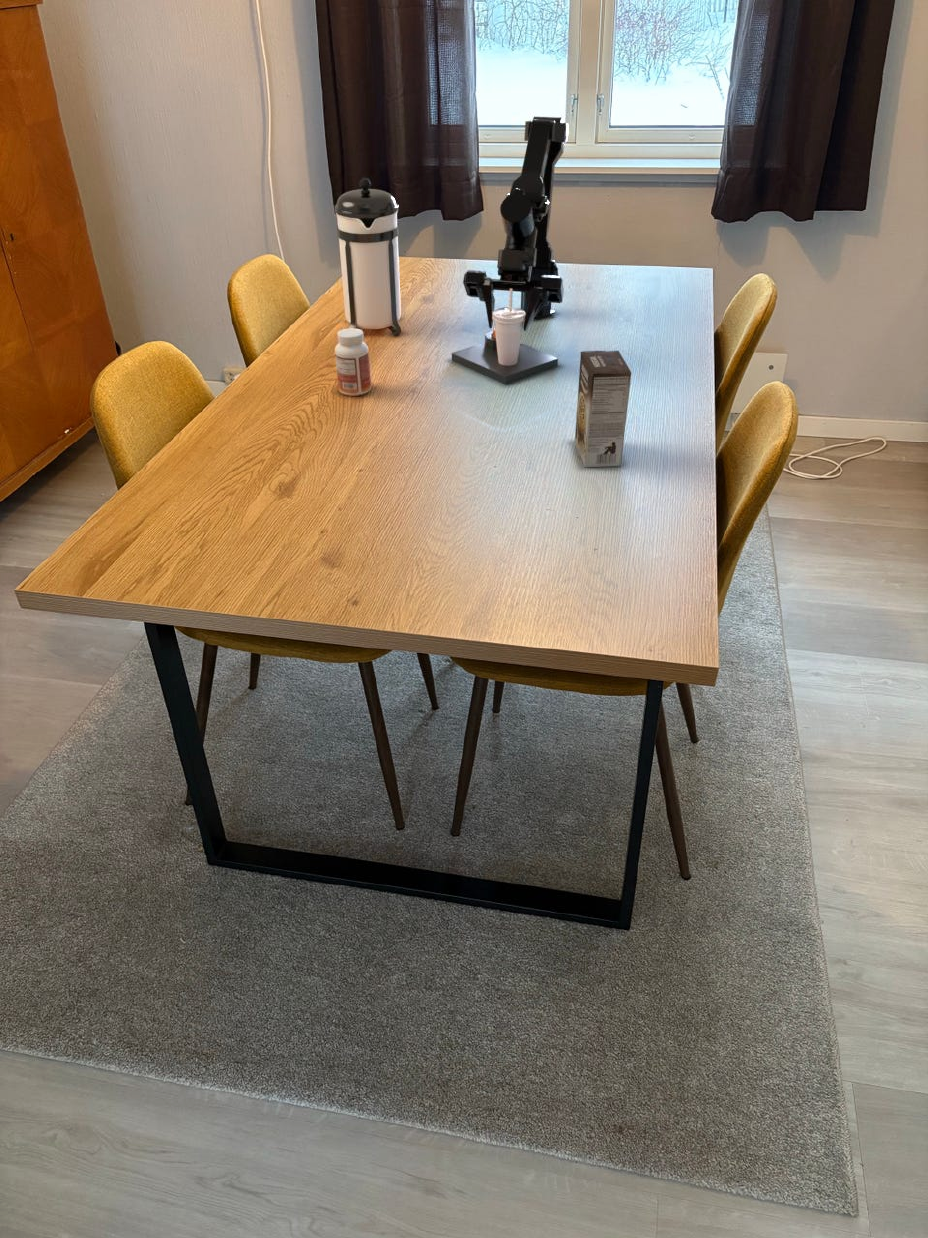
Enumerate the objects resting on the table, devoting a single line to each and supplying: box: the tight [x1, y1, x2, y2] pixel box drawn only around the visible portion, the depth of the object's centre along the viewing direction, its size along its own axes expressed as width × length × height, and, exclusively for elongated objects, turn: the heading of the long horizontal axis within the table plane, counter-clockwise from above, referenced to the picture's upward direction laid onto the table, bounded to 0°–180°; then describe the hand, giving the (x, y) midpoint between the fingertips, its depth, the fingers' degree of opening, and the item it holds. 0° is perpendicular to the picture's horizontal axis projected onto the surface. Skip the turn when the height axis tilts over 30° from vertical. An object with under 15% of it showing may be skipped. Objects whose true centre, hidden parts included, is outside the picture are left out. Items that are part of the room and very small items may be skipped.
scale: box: [451, 329, 559, 386], centre depth 186 cm, size 16×14×4 cm
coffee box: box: [574, 350, 632, 468], centre depth 151 cm, size 9×6×16 cm
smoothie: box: [492, 288, 526, 366], centre depth 179 cm, size 6×6×14 cm
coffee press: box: [334, 177, 402, 336], centre depth 195 cm, size 17×16×30 cm
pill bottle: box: [334, 327, 372, 397], centre depth 173 cm, size 6×6×11 cm
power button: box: [492, 326, 496, 338], centre depth 190 cm, size 4×4×2 cm
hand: (507, 328), depth 178 cm, fingers closed on smoothie, 6 cm apart
